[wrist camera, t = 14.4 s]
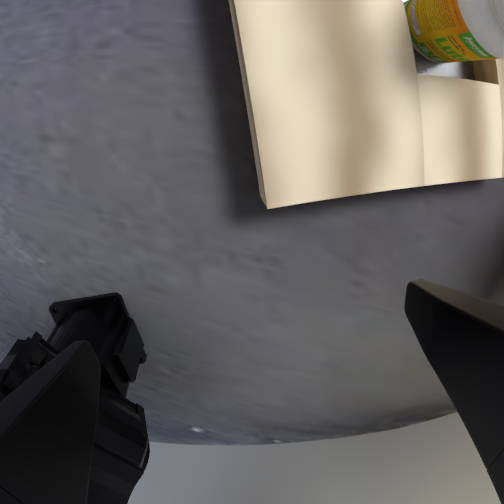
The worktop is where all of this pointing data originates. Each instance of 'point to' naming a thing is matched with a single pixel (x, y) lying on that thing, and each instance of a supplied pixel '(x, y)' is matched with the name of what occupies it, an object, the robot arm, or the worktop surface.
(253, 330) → the worktop surface
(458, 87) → the socket board
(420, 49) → the supplement bottle
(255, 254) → the worktop surface
